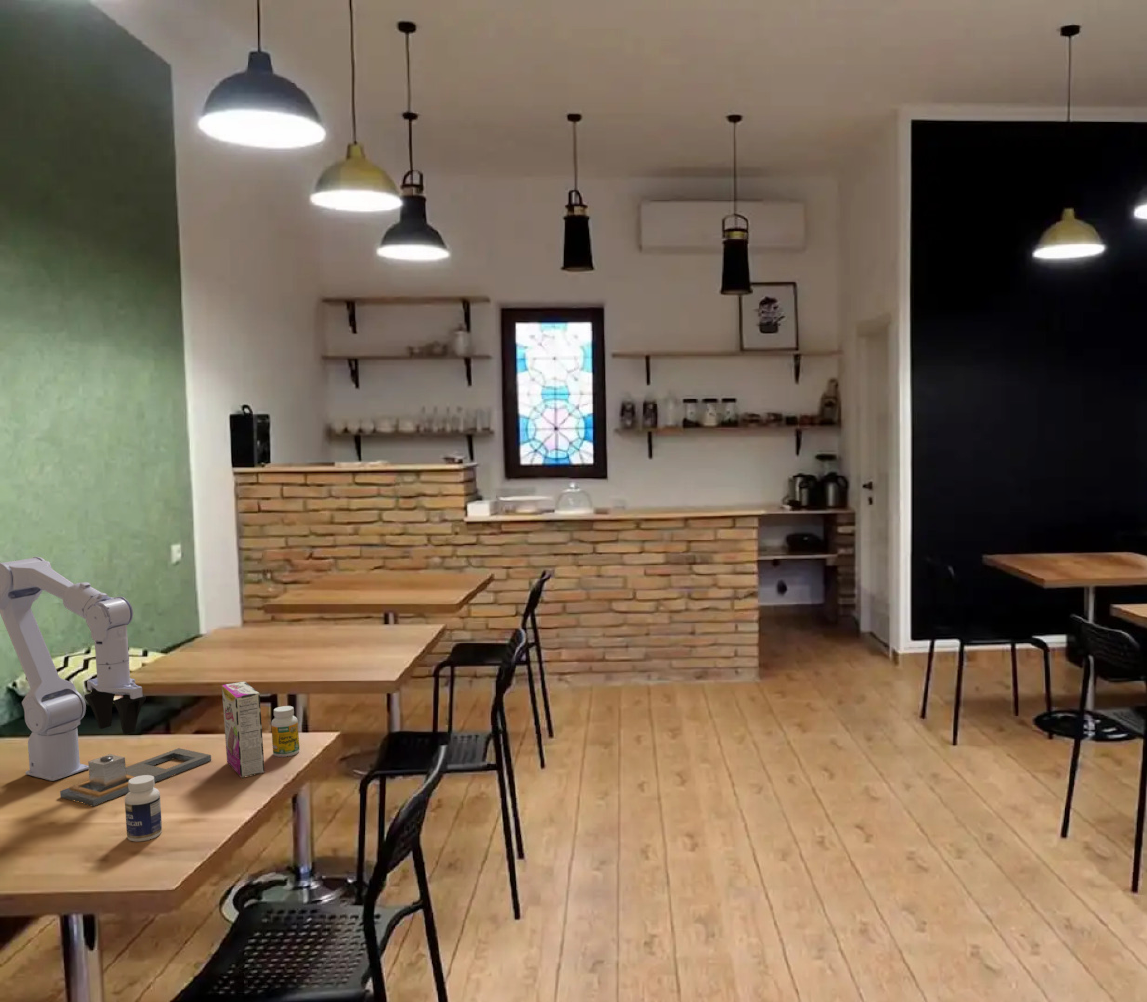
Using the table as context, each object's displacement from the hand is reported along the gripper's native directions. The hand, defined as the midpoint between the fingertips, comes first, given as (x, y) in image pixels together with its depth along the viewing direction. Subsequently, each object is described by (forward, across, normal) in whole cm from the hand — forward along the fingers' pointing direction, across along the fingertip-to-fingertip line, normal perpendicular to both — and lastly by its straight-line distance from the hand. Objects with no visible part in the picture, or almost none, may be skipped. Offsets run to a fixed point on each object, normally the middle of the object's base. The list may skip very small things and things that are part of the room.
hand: (117, 730), depth 182 cm
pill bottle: (+10, -27, +14) cm, 32 cm away
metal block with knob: (+10, -2, +4) cm, 11 cm away
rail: (+10, -2, -3) cm, 11 cm away
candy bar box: (+11, -16, -16) cm, 25 cm away
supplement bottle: (+10, -17, -26) cm, 33 cm away
